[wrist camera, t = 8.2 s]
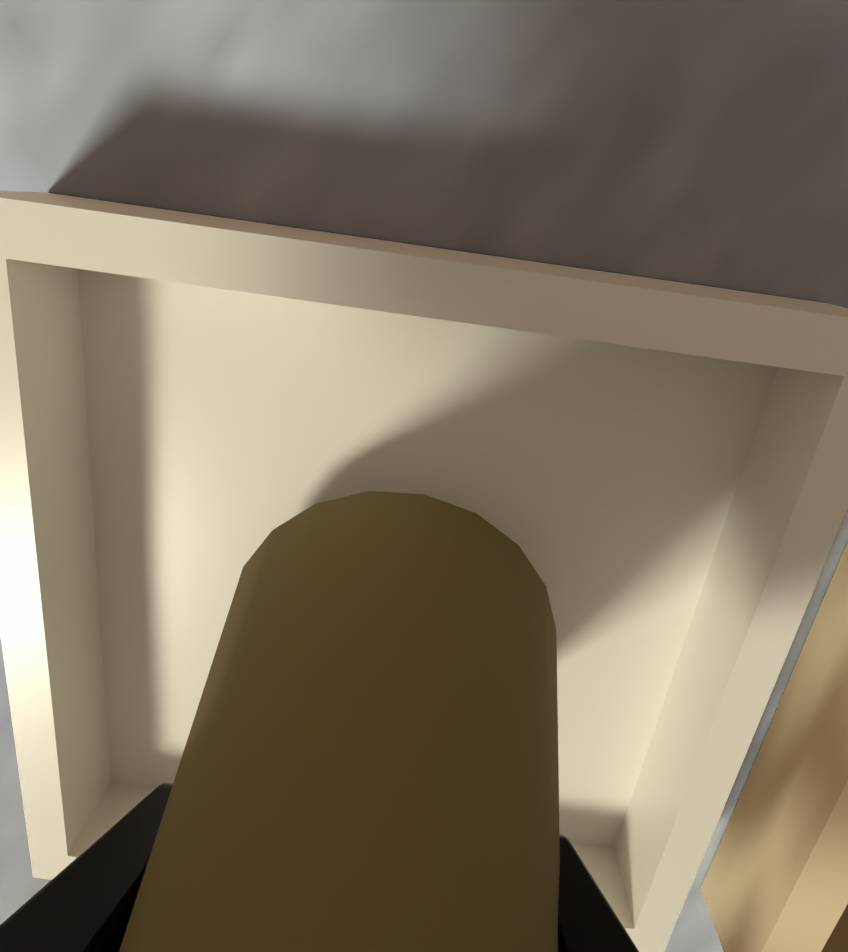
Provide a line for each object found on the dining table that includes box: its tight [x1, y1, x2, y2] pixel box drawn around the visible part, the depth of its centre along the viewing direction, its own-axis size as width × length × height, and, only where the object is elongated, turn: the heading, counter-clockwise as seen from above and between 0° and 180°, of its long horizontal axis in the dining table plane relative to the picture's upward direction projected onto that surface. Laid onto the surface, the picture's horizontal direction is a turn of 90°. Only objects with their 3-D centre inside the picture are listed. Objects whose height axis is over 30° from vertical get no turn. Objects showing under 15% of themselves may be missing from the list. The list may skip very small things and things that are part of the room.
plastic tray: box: [0, 191, 848, 952], centre depth 13 cm, size 14×14×2 cm
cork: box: [119, 491, 560, 952], centre depth 7 cm, size 6×6×11 cm
